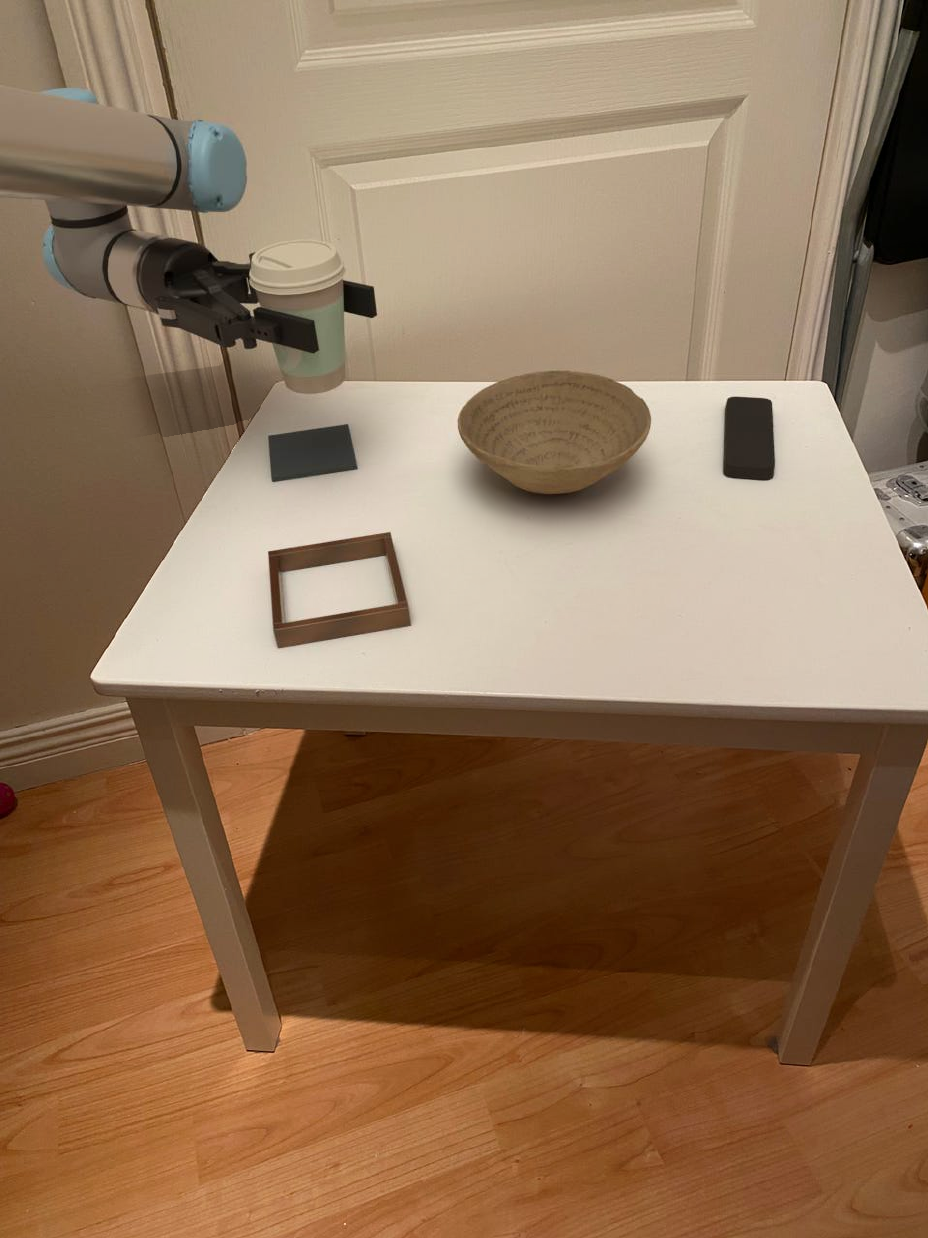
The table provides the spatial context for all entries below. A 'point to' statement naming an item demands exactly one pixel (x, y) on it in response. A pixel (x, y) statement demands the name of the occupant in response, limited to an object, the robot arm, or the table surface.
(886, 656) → the table surface
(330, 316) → the coffee cup
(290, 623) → the wooden square frame
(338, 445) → the felt mat
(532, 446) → the bowl
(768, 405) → the remote control
